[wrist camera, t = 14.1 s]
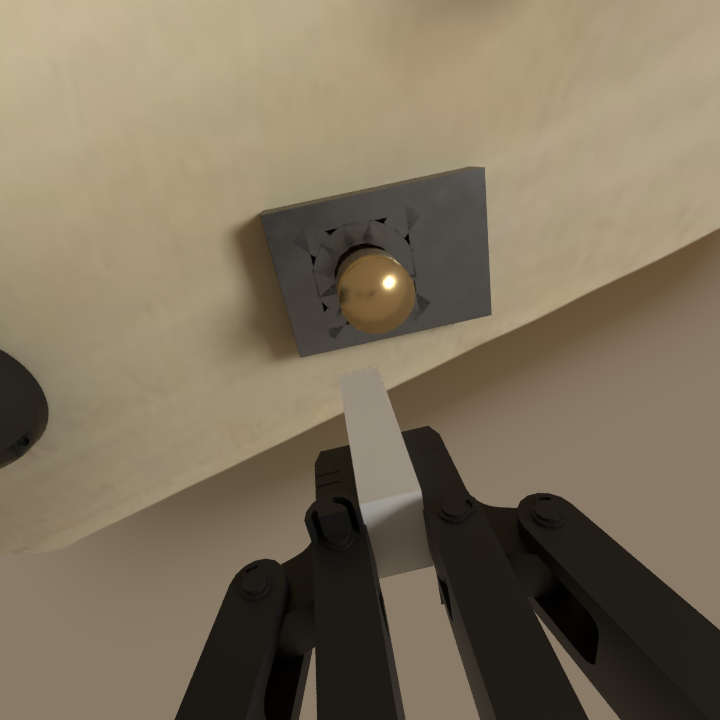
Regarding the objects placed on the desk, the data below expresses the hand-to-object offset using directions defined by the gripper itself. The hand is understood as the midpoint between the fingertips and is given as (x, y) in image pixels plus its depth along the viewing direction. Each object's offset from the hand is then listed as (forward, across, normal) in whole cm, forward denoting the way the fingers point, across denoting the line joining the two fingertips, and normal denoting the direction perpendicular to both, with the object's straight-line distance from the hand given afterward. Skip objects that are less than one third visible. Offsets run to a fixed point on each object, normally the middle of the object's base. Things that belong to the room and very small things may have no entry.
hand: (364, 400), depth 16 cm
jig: (+28, +5, -2) cm, 29 cm away
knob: (+28, +3, -2) cm, 29 cm away
